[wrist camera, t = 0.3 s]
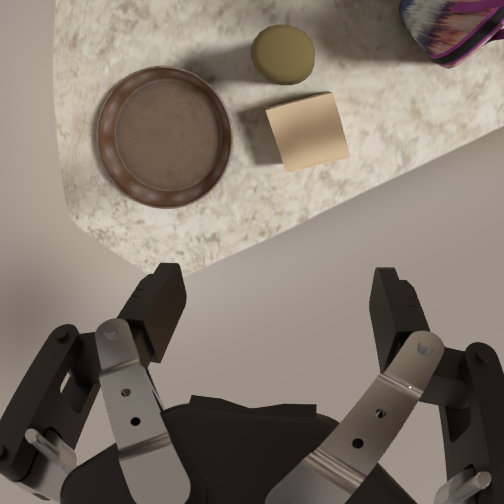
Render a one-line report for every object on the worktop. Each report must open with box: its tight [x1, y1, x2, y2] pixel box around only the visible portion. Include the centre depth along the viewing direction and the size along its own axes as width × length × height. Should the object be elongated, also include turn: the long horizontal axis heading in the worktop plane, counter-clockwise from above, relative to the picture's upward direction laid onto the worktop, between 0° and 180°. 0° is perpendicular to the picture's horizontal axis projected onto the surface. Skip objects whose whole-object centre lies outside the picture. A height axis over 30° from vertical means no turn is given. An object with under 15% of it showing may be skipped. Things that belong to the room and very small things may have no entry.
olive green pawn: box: [251, 25, 315, 85], centre depth 25 cm, size 6×6×11 cm
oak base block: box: [265, 92, 350, 173], centre depth 32 cm, size 7×7×4 cm
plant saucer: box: [96, 66, 233, 209], centre depth 35 cm, size 18×18×3 cm
